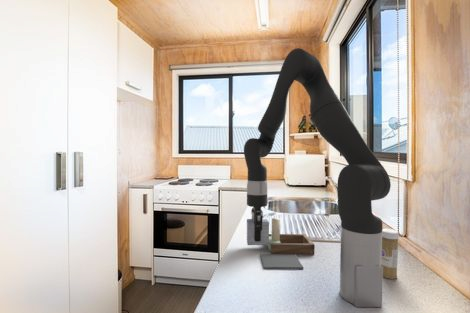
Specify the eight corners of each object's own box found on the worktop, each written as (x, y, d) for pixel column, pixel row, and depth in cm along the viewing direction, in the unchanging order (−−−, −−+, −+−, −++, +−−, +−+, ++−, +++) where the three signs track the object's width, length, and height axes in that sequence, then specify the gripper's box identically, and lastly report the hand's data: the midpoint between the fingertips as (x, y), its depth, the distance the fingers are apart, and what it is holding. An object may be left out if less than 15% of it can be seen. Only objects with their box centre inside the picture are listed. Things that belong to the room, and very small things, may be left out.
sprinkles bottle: (375, 273, 78) (377, 228, 77) (386, 271, 79) (387, 227, 79) (390, 280, 73) (391, 233, 73) (401, 278, 75) (402, 231, 75)
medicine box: (267, 241, 99) (267, 218, 99) (269, 245, 94) (269, 221, 94) (246, 241, 98) (246, 218, 98) (247, 245, 94) (247, 221, 94)
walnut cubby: (314, 254, 92) (314, 244, 91) (271, 254, 91) (271, 244, 91) (305, 243, 103) (305, 234, 103) (267, 242, 103) (267, 233, 103)
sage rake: (281, 251, 94) (281, 221, 93) (269, 251, 93) (269, 221, 93) (277, 244, 101) (278, 216, 100) (266, 244, 100) (267, 216, 100)
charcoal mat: (303, 269, 80) (303, 267, 80) (264, 269, 80) (264, 267, 80) (295, 255, 90) (295, 254, 90) (260, 255, 90) (260, 254, 90)
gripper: (270, 195, 89) (269, 245, 89) (264, 190, 103) (264, 232, 104) (248, 195, 89) (248, 245, 89) (245, 189, 103) (245, 232, 103)
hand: (256, 238), depth 96 cm, fingers closed on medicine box, 4 cm apart
